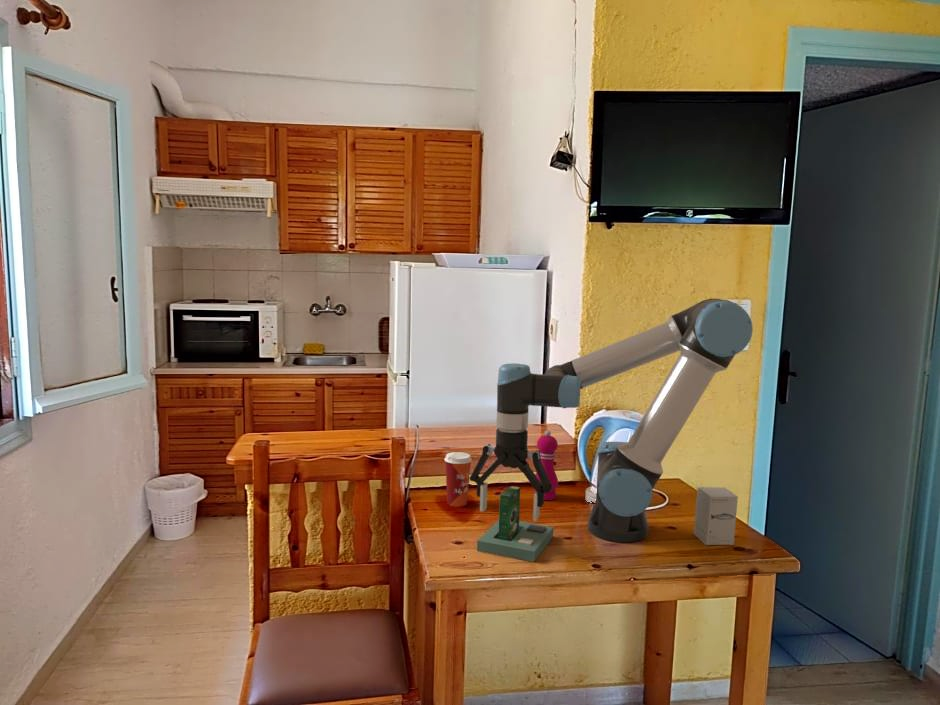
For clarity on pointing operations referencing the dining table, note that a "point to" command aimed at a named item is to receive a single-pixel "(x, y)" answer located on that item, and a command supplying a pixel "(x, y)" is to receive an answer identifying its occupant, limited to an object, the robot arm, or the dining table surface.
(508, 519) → the coffee box
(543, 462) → the pepper mill
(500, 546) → the socket board
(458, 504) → the paper cup
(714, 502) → the supplement box
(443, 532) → the dining table surface
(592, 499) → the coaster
